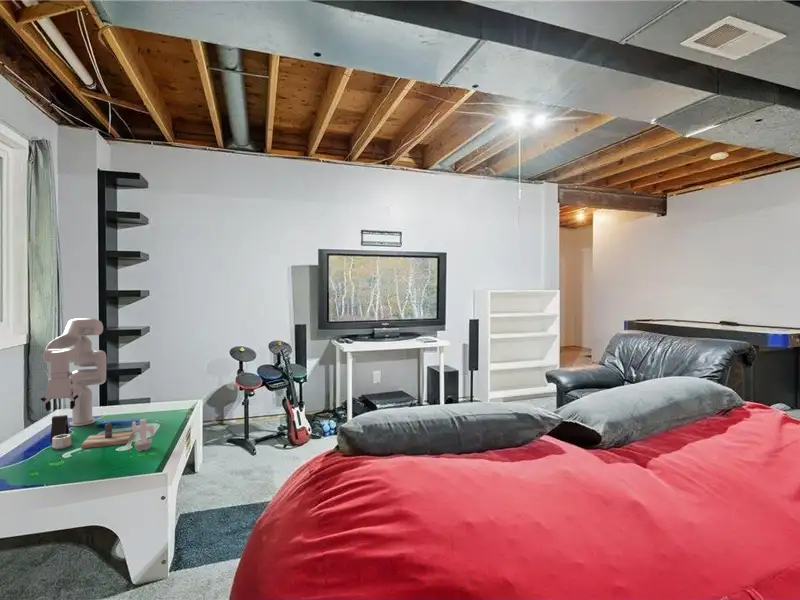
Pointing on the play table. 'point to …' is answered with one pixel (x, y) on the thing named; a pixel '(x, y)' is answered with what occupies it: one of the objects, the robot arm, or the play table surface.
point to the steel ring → (61, 441)
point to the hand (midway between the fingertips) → (60, 409)
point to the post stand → (107, 438)
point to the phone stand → (59, 426)
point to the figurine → (143, 435)
